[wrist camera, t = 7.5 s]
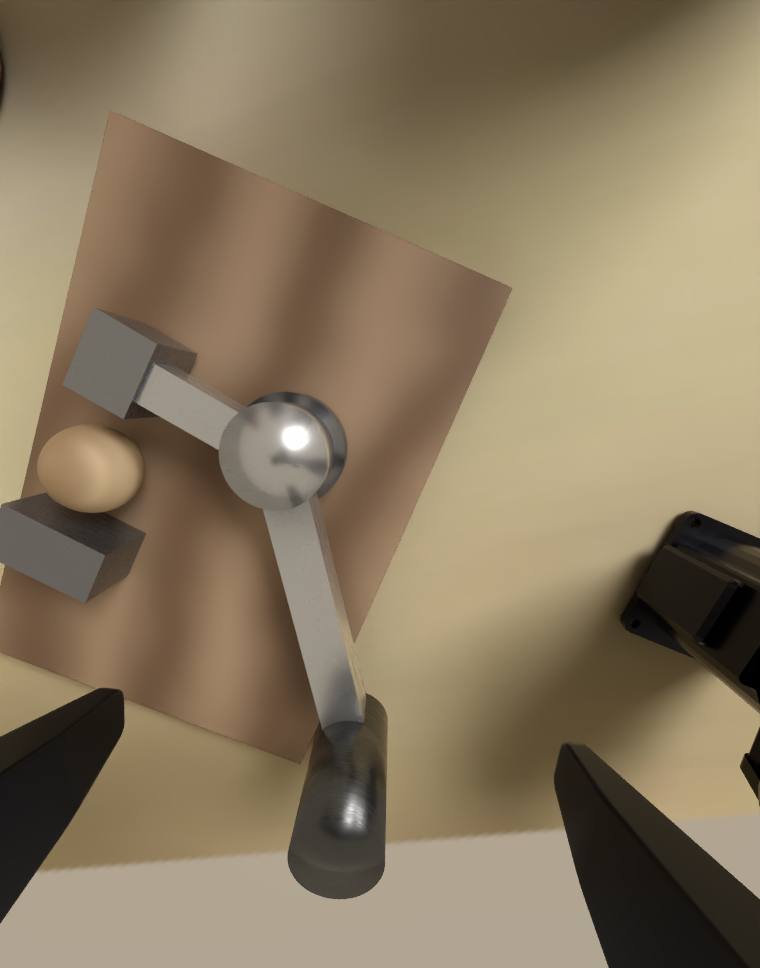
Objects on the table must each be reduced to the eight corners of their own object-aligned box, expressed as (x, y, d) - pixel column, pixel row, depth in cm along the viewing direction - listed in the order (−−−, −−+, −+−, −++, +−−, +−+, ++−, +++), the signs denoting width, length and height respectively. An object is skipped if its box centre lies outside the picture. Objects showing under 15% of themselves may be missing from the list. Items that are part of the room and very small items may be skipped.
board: (504, 295, 18) (512, 287, 16) (305, 745, 23) (300, 764, 21) (130, 130, 17) (109, 110, 16) (8, 633, 22) (-14, 646, 21)
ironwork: (320, 373, 17) (306, 368, 15) (365, 479, 18) (360, 493, 15) (25, 503, 19) (-38, 521, 16) (79, 594, 20) (28, 626, 17)
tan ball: (172, 440, 18) (118, 450, 15) (150, 512, 19) (94, 538, 15) (94, 409, 18) (21, 411, 14) (75, 483, 19) (2, 501, 15)
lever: (100, 333, 17) (-96, 288, 10) (302, 286, 16) (236, 205, 10) (234, 751, 21) (157, 921, 14) (401, 726, 20) (405, 891, 14)
